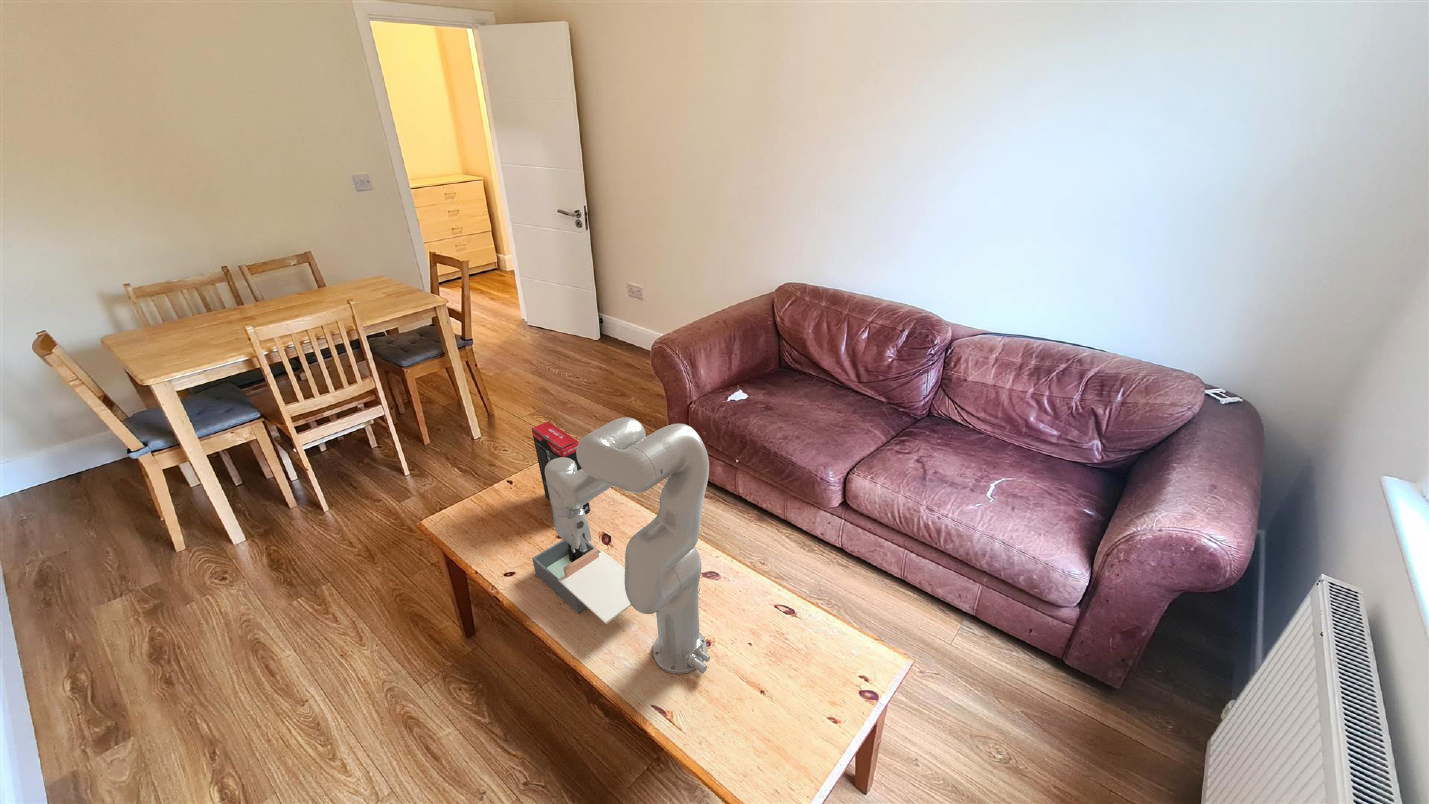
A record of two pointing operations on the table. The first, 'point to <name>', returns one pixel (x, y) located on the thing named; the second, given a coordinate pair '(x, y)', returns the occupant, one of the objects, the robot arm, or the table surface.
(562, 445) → the graphics card box
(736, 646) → the table surface
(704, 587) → the table surface
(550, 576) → the box
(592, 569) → the lid
